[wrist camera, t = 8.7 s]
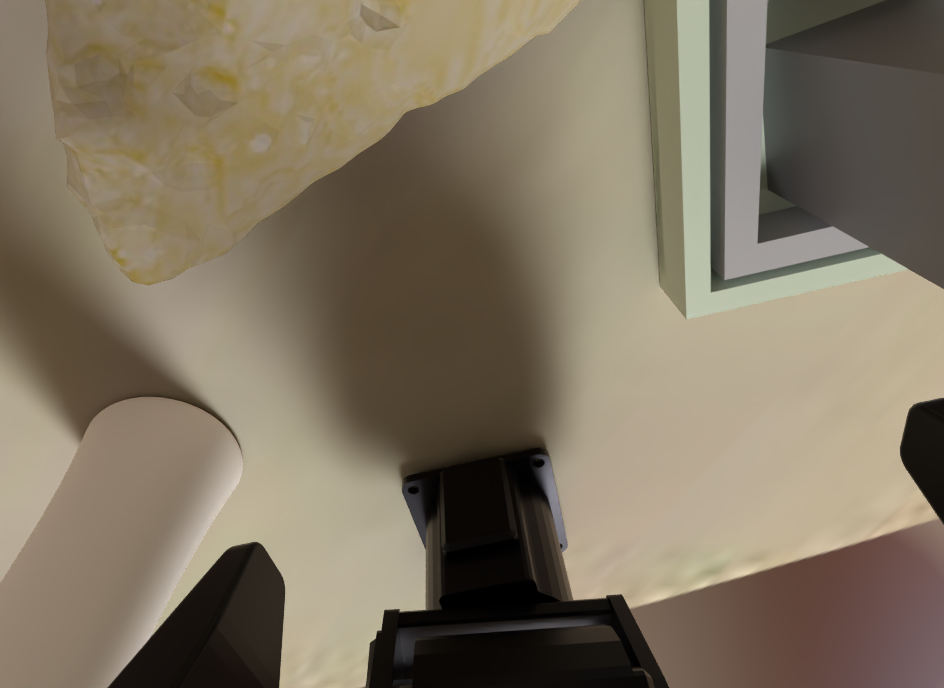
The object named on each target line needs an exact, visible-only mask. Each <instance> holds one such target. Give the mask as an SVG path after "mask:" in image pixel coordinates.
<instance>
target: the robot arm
mask: <svg viewBox="0 0 944 688" xmlns="http://www.w3.org/2000/svg"><path fill="white" fill-rule="evenodd" d="M900 456H901V459H902V462H903V464H904V466H905V468H906V470H907V471H908V473H909V474H910V476H911V477H912V479H913V480H914V481H915V483H916V484H917V486H918V487H919V489H920V490H921V492H922V493H923V495H924V496H925V498H926V499H927V501H928V502H929V504H930V505H931V507H932V508H933V510H934V511H935V513H936V514H937V516H938V517H939V519H940V520H941V522H942V523H943V524H944V398H939V399H934V400H930V401H925V402H920V403H916V404H914V405H913V406H912V407H911V408H910V409H909V412H908V415H907V419H906V424H905V428H904V432H903V437H902V441H901V445H900ZM536 459H541V460H540V461H535V460H536ZM411 486H417V487H415V488H412V487H411ZM402 493H403V495H404V498H405V500H406V503H407V505H408V508H409V510H410V512H411V515H412V517H413V520H414V522H415V525H416V527H417V530H418V532H419V535H420V537H421V539H422V542H423V544H424V547H425V549H426V610H418V611H403V612H400V609H394V610H384V617H383V624H382V631H377V635H376V639H375V640H373V641H372V642H371V643H370V649H369V661H368V672H367V681H366V688H669V687H668V684H667V682H666V680H665V678H664V676H663V674H662V672H661V670H660V668H659V666H658V664H657V662H656V660H655V658H654V656H653V654H652V652H651V650H650V648H649V646H648V644H647V642H646V641H645V639H644V637H643V635H642V633H641V631H640V629H639V627H638V625H637V623H636V621H635V619H634V617H633V615H632V614H631V611H630V609H629V607H628V605H627V603H626V601H625V600H624V598H623V596H622V594H620V595H607V596H606V598H599V599H584V600H573V597H572V593H571V589H570V584H569V580H568V576H567V572H566V568H565V564H564V560H563V556H562V552H563V551H565V550H566V549H567V546H568V544H567V539H566V534H565V529H564V525H563V520H562V515H561V510H560V505H559V500H558V496H557V491H556V486H555V481H554V476H553V471H552V467H551V462H550V458H549V454H548V452H547V451H546V450H545V449H542V448H535V449H530V450H526V451H521V452H516V453H512V454H507V455H502V456H498V457H493V458H488V459H484V460H479V461H474V462H470V463H465V464H461V465H456V466H451V467H447V468H442V469H437V470H433V471H428V472H423V473H419V474H414V475H410V476H407V477H406V478H405V479H404V480H403V482H402ZM284 603H285V585H284V580H283V577H282V575H281V573H280V572H279V570H278V569H277V567H276V566H275V564H274V562H273V561H272V559H271V558H270V556H269V554H268V553H267V551H266V550H265V548H264V547H263V546H262V545H261V544H260V543H258V542H251V543H247V544H242V545H237V546H233V547H231V548H229V549H227V550H226V551H225V552H224V553H223V554H222V556H221V557H220V558H219V559H218V560H217V561H216V563H215V564H214V565H213V566H212V567H211V568H210V569H209V571H208V572H207V573H206V574H205V575H204V576H203V578H202V579H201V580H200V581H199V582H198V583H197V584H196V586H195V587H194V588H193V589H192V590H191V591H190V593H189V594H188V595H187V596H186V597H185V598H184V599H183V601H182V602H181V603H180V604H179V605H178V606H177V608H176V609H175V610H174V611H173V612H172V613H171V614H170V616H169V617H168V618H167V619H166V620H165V621H164V623H163V624H162V625H161V626H160V627H159V628H158V630H157V631H156V632H155V633H154V634H153V635H152V636H151V638H150V639H149V640H148V641H147V642H146V643H145V645H144V646H143V647H142V648H141V649H140V650H139V651H138V653H137V654H136V655H135V656H134V657H133V658H132V660H131V661H130V662H129V663H128V664H127V665H126V666H125V668H124V669H123V670H122V671H121V672H120V673H119V675H118V676H117V677H116V678H115V679H114V680H113V681H112V683H111V684H110V685H109V686H108V687H107V688H279V680H280V665H281V649H282V634H283V619H284Z"/></svg>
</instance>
